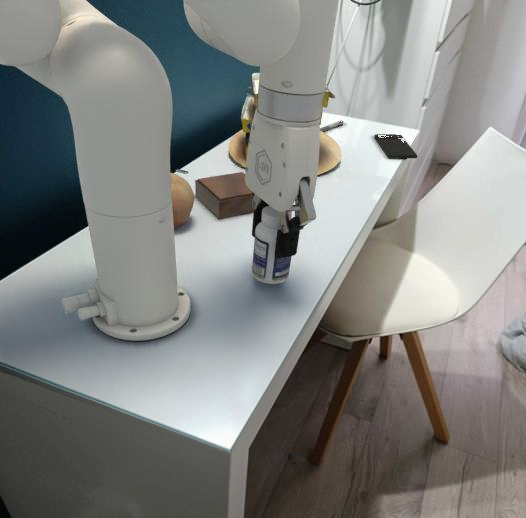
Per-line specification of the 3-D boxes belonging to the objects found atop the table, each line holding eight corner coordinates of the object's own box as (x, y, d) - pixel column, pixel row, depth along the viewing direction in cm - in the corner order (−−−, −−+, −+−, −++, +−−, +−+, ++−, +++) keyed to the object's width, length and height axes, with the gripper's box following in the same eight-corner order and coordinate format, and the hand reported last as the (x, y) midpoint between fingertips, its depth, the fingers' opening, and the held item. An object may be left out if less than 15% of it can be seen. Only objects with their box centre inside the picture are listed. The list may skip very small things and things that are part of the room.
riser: (219, 219, 87) (219, 200, 85) (195, 196, 94) (194, 178, 91) (268, 209, 91) (269, 190, 89) (242, 188, 98) (243, 170, 95)
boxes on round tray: (335, 184, 102) (350, 95, 91) (217, 169, 104) (217, 80, 93) (342, 145, 120) (354, 67, 110) (241, 133, 123) (243, 55, 112)
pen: (345, 118, 133) (340, 120, 134) (317, 129, 124) (312, 131, 125) (346, 122, 133) (341, 124, 134) (318, 133, 124) (313, 135, 125)
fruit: (138, 227, 83) (133, 180, 78) (162, 208, 89) (158, 163, 84) (182, 237, 81) (179, 190, 76) (202, 217, 87) (202, 172, 82)
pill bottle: (289, 267, 74) (298, 205, 68) (287, 287, 70) (297, 222, 64) (253, 263, 74) (259, 200, 68) (249, 282, 70) (255, 217, 64)
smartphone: (417, 158, 116) (400, 137, 127) (418, 154, 115) (400, 132, 126) (388, 158, 115) (373, 137, 127) (389, 154, 115) (374, 132, 126)
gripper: (227, 86, 61) (221, 223, 73) (303, 129, 50) (282, 282, 62) (278, 84, 65) (265, 215, 76) (361, 124, 54) (331, 270, 65)
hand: (273, 244), depth 69 cm, fingers closed on pill bottle, 5 cm apart
